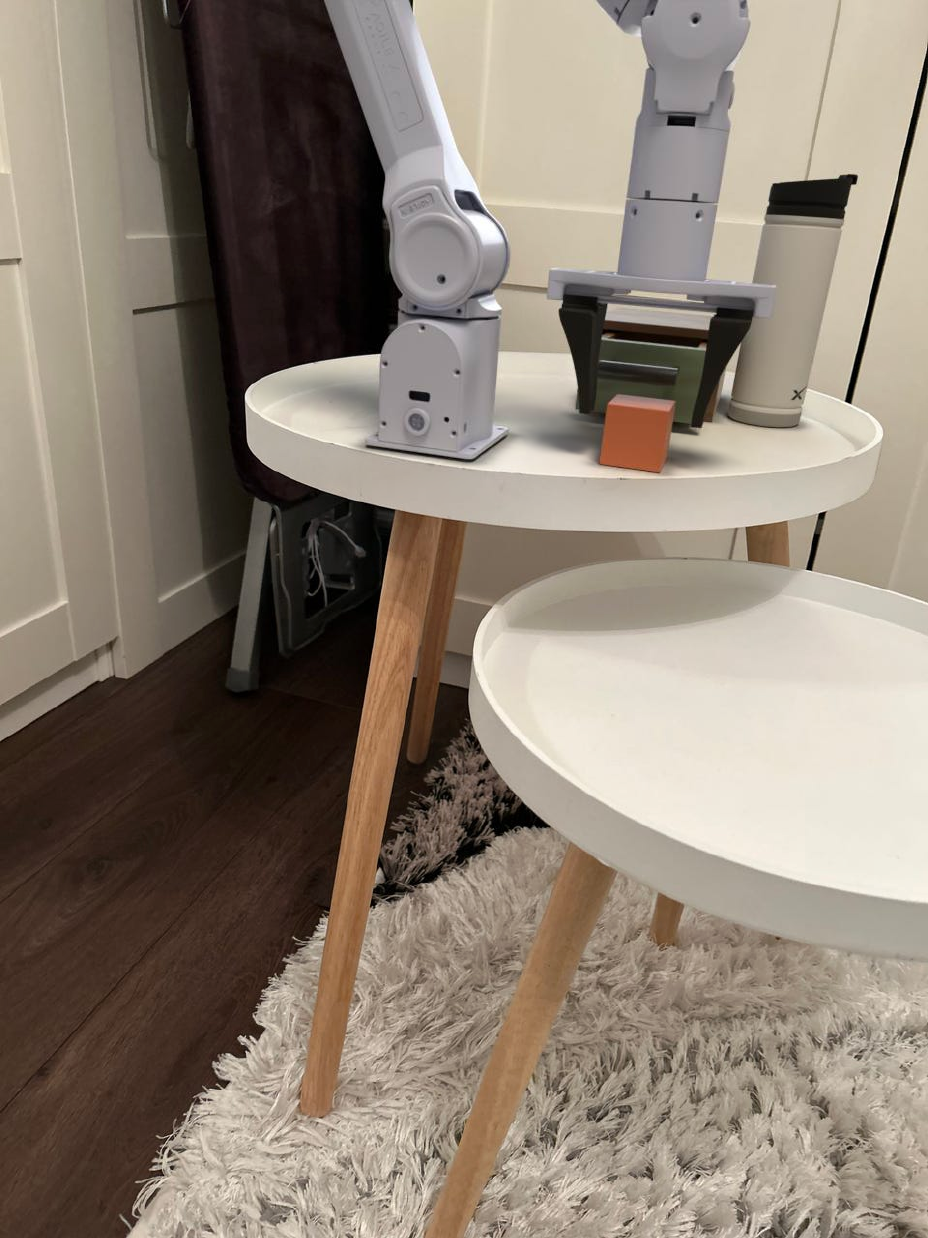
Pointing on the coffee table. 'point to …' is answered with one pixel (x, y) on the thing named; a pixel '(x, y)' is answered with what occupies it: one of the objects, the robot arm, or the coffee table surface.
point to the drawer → (650, 370)
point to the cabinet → (665, 333)
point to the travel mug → (789, 299)
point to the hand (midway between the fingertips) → (640, 418)
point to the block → (637, 432)
